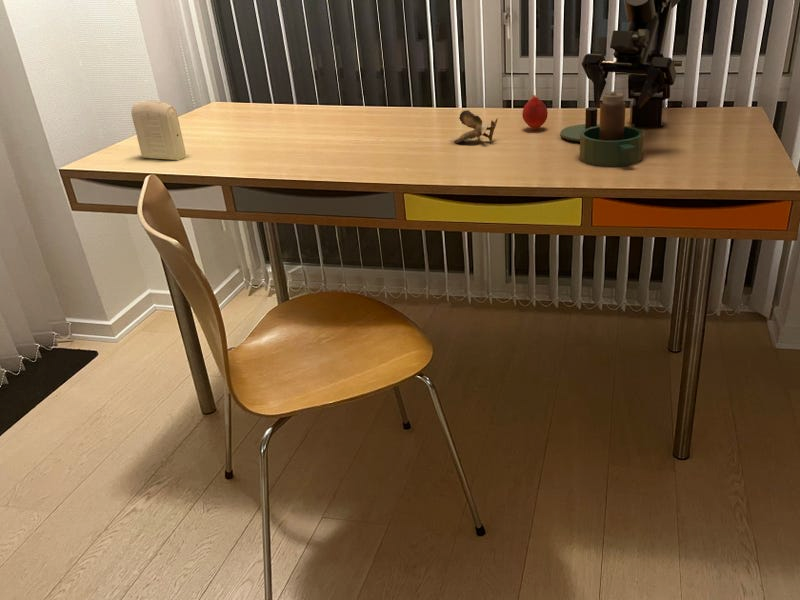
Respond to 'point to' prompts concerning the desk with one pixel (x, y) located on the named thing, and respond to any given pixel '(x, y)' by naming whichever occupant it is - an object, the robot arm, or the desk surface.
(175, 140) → the photo printer
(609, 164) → the pot
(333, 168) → the desk surface
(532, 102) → the onion
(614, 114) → the pepper mill
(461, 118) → the eagle figurine
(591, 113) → the lid
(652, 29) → the robot arm
